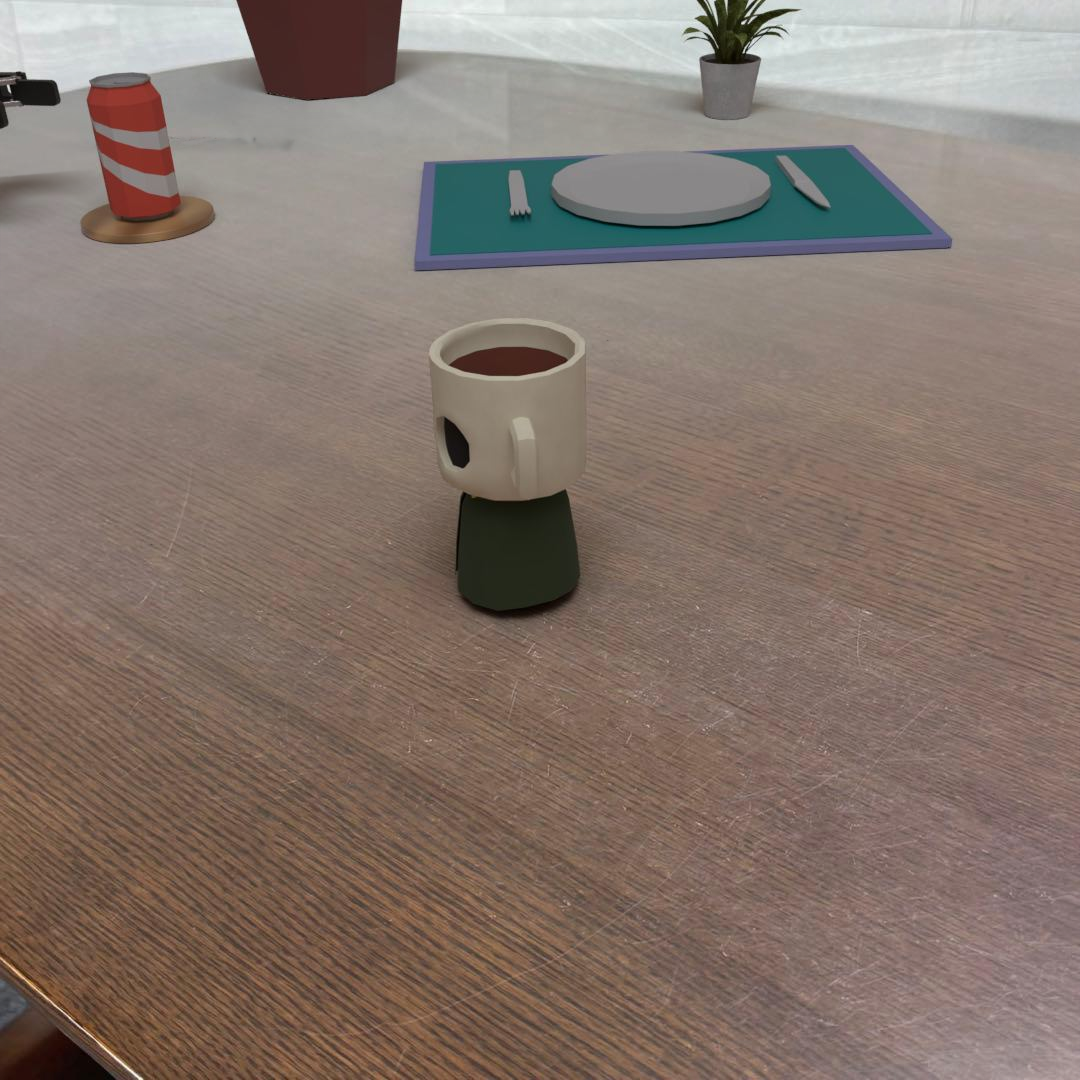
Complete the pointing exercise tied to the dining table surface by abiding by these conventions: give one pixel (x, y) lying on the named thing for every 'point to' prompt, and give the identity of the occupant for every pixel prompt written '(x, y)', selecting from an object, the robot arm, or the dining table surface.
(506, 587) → the character mug
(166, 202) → the beverage can
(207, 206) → the cork trivet
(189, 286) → the dining table surface
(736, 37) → the house plant
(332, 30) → the bucket
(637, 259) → the place mat
